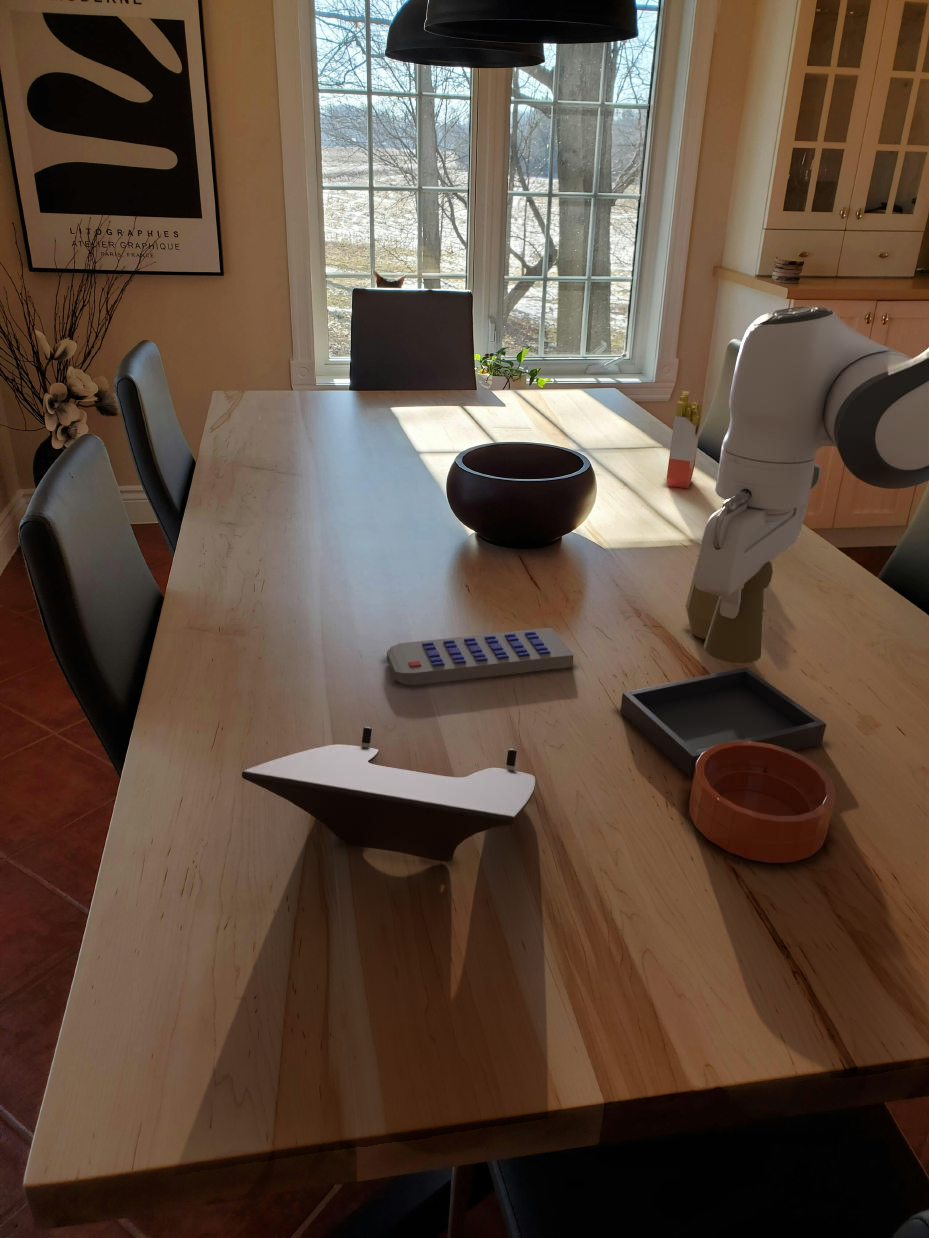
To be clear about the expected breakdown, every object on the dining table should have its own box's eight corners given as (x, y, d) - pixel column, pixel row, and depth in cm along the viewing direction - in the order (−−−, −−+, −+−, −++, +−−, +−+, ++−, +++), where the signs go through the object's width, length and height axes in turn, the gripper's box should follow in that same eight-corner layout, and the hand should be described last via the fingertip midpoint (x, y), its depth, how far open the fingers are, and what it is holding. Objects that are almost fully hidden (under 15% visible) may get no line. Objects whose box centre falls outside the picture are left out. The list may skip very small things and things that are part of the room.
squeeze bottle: (727, 618, 127) (747, 497, 120) (752, 644, 120) (776, 517, 112) (673, 621, 126) (690, 499, 118) (696, 648, 119) (716, 519, 111)
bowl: (764, 771, 94) (773, 731, 92) (853, 845, 84) (865, 802, 82) (663, 797, 90) (669, 755, 88) (744, 879, 79) (754, 834, 77)
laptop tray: (537, 843, 92) (548, 753, 92) (504, 908, 69) (519, 790, 69) (325, 806, 96) (336, 721, 96) (229, 857, 74) (243, 746, 74)
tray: (743, 685, 110) (746, 666, 109) (822, 743, 99) (826, 723, 98) (620, 711, 104) (622, 692, 103) (689, 777, 93) (693, 756, 92)
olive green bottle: (727, 667, 94) (745, 570, 89) (692, 642, 99) (706, 549, 94) (773, 657, 96) (792, 562, 91) (736, 633, 101) (752, 542, 96)
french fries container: (694, 478, 189) (707, 391, 181) (687, 492, 179) (700, 402, 172) (672, 475, 190) (684, 389, 182) (664, 489, 181) (676, 399, 173)
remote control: (572, 668, 114) (574, 653, 113) (397, 687, 108) (397, 671, 107) (550, 640, 120) (551, 625, 119) (384, 656, 115) (384, 641, 114)
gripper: (755, 512, 80) (730, 650, 86) (827, 464, 95) (801, 584, 101) (689, 497, 83) (670, 631, 89) (768, 453, 98) (747, 570, 104)
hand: (740, 606), depth 95 cm, fingers closed on olive green bottle, 4 cm apart
